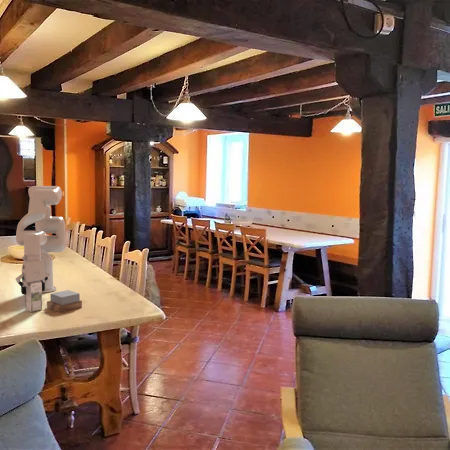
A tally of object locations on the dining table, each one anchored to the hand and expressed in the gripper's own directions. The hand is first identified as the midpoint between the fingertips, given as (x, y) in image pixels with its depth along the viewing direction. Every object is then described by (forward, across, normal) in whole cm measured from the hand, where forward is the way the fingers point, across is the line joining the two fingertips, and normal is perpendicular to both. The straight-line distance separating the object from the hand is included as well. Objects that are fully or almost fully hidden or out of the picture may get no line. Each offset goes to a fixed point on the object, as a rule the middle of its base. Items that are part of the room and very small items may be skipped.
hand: (33, 292), depth 230 cm
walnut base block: (+10, +12, -7) cm, 17 cm away
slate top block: (+6, +12, -8) cm, 16 cm away
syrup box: (+9, 0, +1) cm, 9 cm away
